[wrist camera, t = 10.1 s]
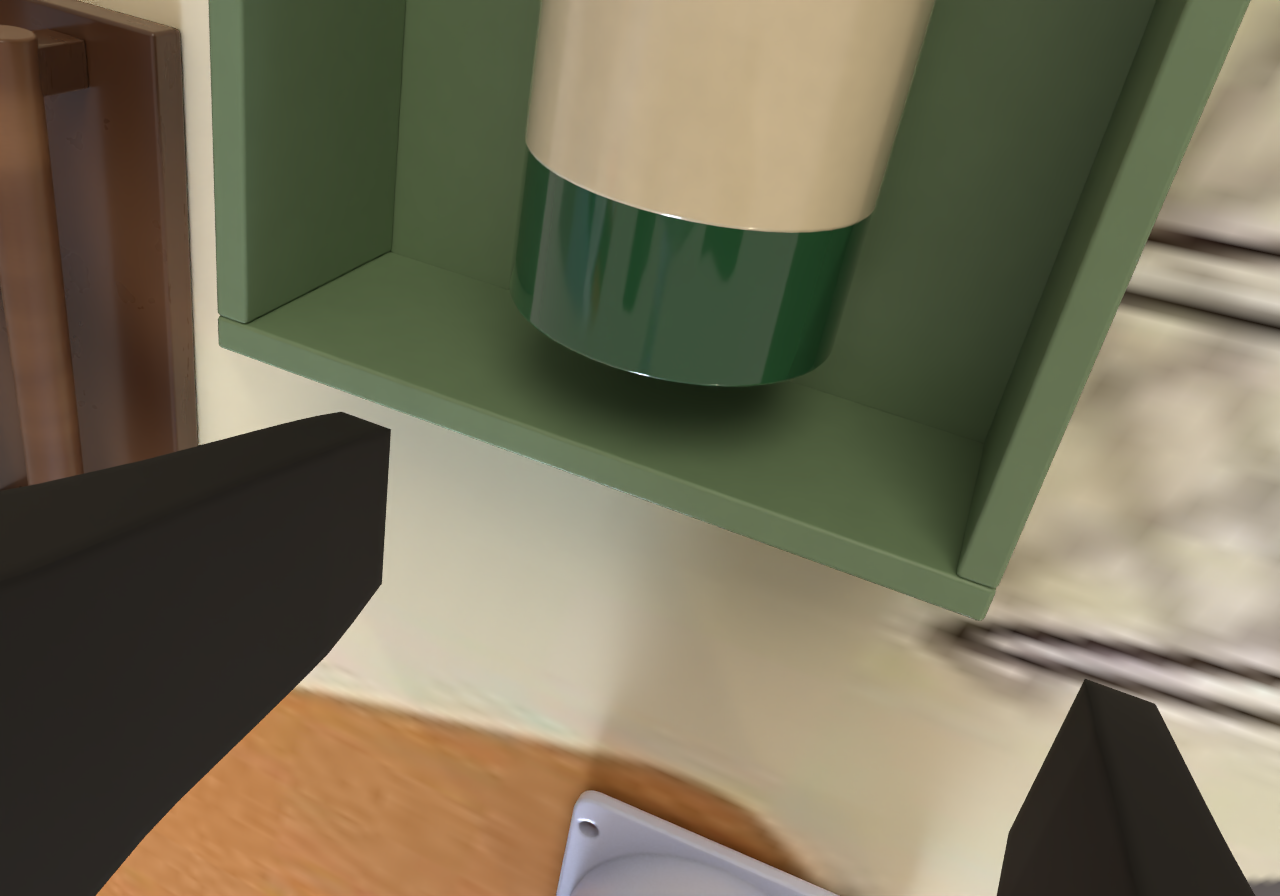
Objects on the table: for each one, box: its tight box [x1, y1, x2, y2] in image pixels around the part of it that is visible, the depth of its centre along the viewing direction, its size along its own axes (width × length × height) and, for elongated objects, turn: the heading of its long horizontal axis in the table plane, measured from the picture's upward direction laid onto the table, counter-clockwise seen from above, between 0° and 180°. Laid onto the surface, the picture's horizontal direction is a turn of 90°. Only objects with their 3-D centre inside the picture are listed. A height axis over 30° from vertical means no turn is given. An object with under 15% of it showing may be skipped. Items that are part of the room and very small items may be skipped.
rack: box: [0, 0, 198, 491], centre depth 26 cm, size 15×8×3 cm, turn 170°
